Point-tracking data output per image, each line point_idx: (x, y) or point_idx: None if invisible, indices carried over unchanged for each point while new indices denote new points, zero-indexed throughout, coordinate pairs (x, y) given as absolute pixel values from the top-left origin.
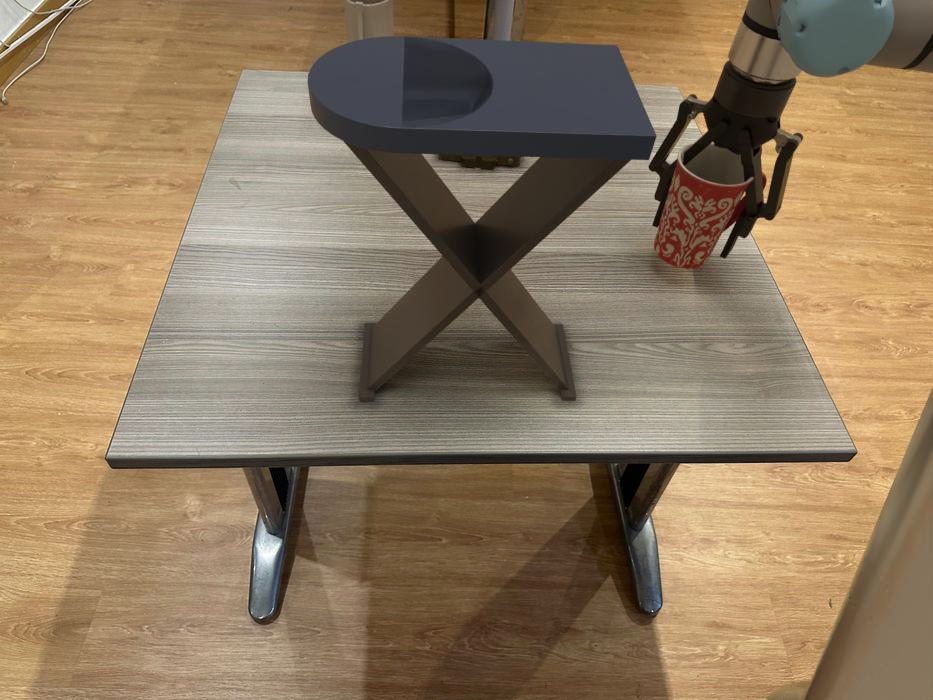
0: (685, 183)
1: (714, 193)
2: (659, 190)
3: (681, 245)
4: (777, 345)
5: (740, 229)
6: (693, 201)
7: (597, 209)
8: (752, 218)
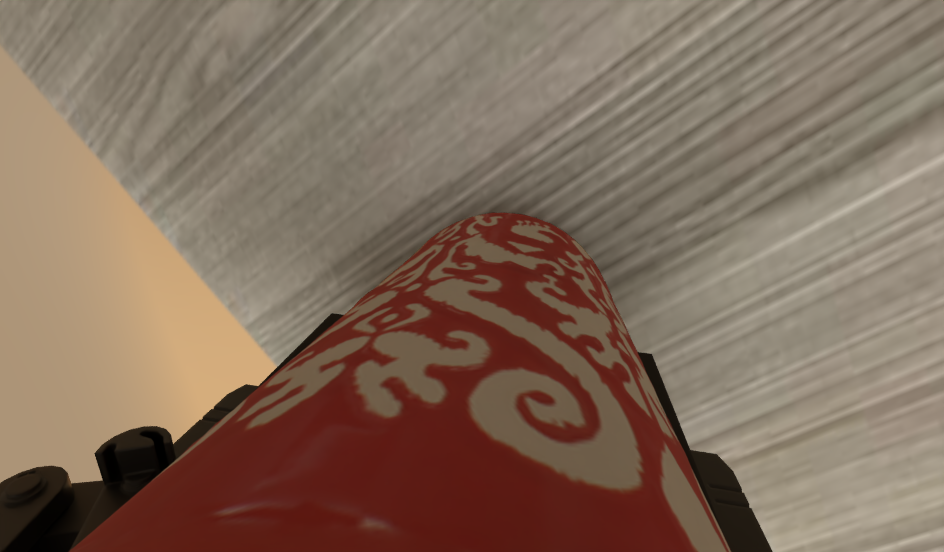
0: (614, 524)
1: (202, 478)
2: (728, 503)
3: (480, 237)
4: (145, 139)
5: None
6: (453, 367)
7: (843, 424)
8: (116, 444)
